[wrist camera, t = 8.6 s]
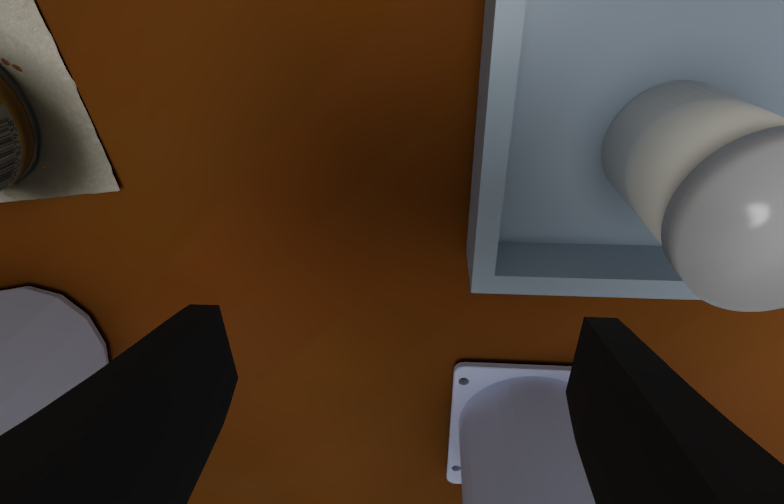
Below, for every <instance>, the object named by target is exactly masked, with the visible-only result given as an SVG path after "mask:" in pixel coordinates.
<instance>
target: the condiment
mask: <svg viewBox="0 0 784 504" xmlns="http://www.w3.org/2000/svg"><path fill="white" fill-rule="evenodd" d="M1 58H4V59H5V60H6V61H8V62H9V64H10V65H8V66H7V65H5V64H4V63H3V62H2V60H1ZM12 64H15V65H17V66H19V67H21V69H22V72H20V71H17V70H16V69H14V68H13V67H12ZM42 165H44V166H45V167H46V168H45V169H43V168H42ZM112 191H120V190H119V187H118V184H117V182H116V180H115V177H114V175H113V173H112V168H111V165H110V163H109V161H108V159H107V157H106V154H105V152H104V150H103V147H102V145H101V143H100V141H99V139H98V137H97V135H96V132H95V128H94V126H93V124H92V122H91V120H90V118H89V115H88V113H87V111H86V109H85V107H84V105H83V103H82V101H81V99H80V97H79V94H78V92H77V88H76V85H75V82H74V81H73V79H72V78H71V77H70V75H69V73H68V71H67V70H66V67H65V65H64V64H63V61H62V59H61V57H60V55H59V53H58V50H57V47H56V45H55V43H54V40H53V38H52V36H51V34H50V32H49V31H48V29H47V28H46V26H45V24H44V21H43V19H42V17H41V15H40V13H39V11H38V9H37V7H36V4H35V2H34V0H0V202H10V201H19V200H35V199H48V198H53V197H61V196H70V195H80V194H92V193H104V192H112Z"/></svg>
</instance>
